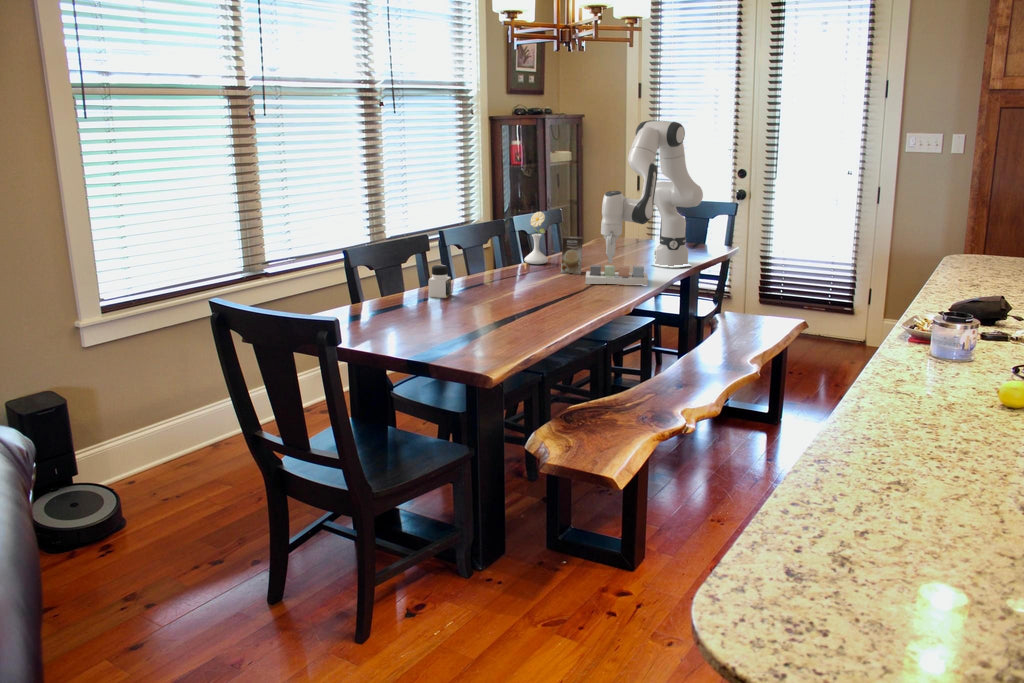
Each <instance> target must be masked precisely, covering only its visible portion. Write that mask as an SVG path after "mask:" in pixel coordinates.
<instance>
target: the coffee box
mask: <svg viewBox="0 0 1024 683" xmlns="http://www.w3.org/2000/svg"><path fill="white" fill-rule="evenodd" d="M583 239H584V238H583V236H576V235H575V236H573V235H571V236H570V235H562V244H561V245H562V246H561V263H560V264H561V265H560V274H565V273H573V274H572V275H581V274H582V263H583V262H582V261H583V259H582V258H583Z"/></svg>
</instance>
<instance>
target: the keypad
mask: <svg viewBox="0 0 1024 683" xmlns="http://www.w3.org/2000/svg"><path fill="white" fill-rule="evenodd" d="M604 272H605V271H601V276H593V275H590V270H586V272H585V280H584V281H585V283H584V284H585V285H590V284H606V283H607V284H643V285H648V286H649V278H648V273H647V272H644V275H643V277H633V272H629V277H628V276H618V274H619V271H615V276H604Z"/></svg>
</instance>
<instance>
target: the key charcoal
mask: <svg viewBox="0 0 1024 683" xmlns="http://www.w3.org/2000/svg"><path fill="white" fill-rule="evenodd" d="M589 271H590V275H593V276H601V272H602V265H601V264H590V270H589Z"/></svg>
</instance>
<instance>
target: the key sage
mask: <svg viewBox="0 0 1024 683" xmlns="http://www.w3.org/2000/svg"><path fill="white" fill-rule="evenodd" d="M603 272H604V276H615V272H616V265H609V264H607V265H604V271H603Z"/></svg>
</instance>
